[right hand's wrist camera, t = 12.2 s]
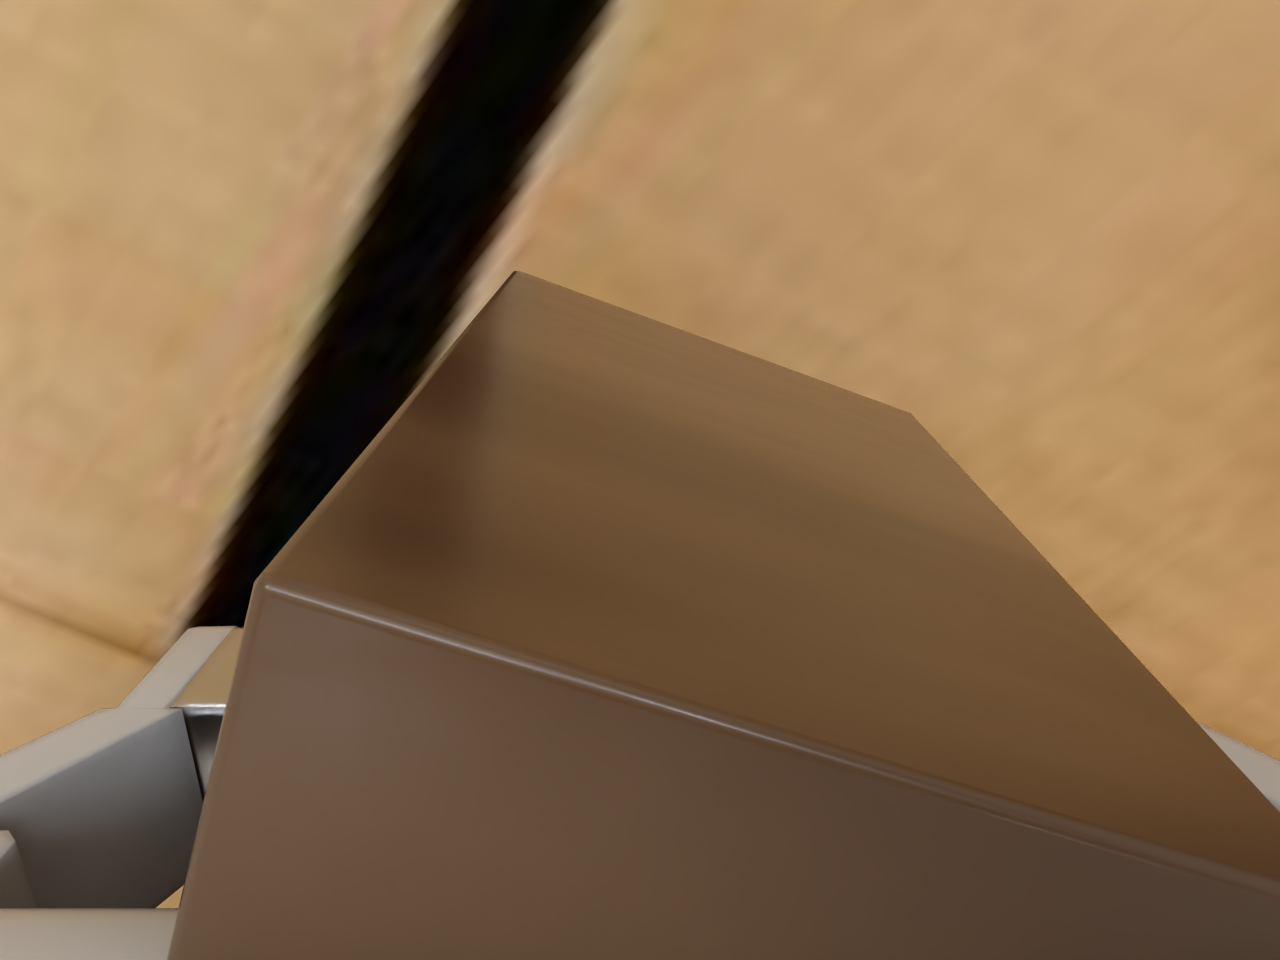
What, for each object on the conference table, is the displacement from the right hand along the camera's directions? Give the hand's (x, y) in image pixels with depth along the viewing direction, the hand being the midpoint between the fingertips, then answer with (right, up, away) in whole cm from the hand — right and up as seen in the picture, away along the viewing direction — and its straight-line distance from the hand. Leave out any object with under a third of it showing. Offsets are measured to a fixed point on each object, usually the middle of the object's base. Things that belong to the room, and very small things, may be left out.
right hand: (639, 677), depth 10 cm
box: (-3, -6, +6) cm, 8 cm away
